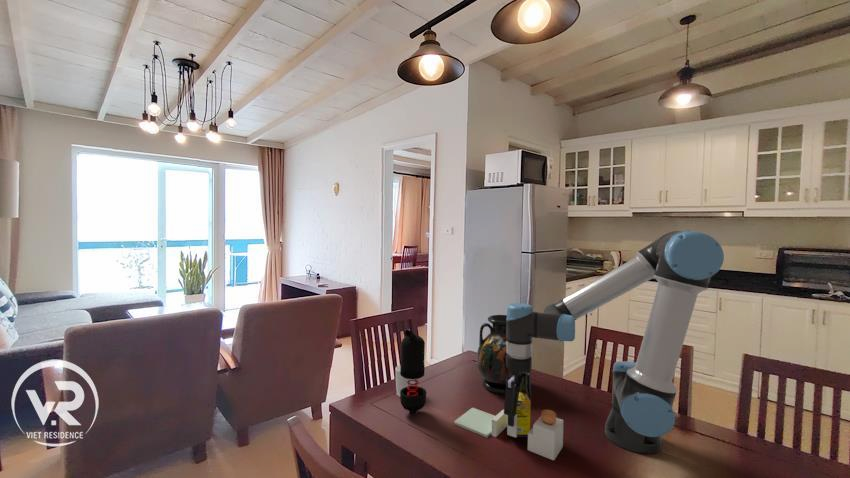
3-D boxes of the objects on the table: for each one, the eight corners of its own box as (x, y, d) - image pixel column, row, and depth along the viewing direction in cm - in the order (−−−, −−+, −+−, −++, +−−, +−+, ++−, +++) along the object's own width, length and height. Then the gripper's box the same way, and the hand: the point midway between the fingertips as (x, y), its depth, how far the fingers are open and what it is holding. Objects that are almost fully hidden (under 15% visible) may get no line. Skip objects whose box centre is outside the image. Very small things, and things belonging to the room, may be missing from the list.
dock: (562, 446, 104) (563, 420, 104) (553, 460, 98) (554, 432, 98) (502, 424, 116) (503, 400, 115) (491, 435, 109) (492, 409, 109)
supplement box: (530, 437, 105) (531, 400, 105) (510, 437, 105) (510, 400, 105) (525, 426, 111) (525, 391, 111) (506, 426, 111) (506, 391, 111)
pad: (504, 421, 118) (504, 419, 118) (486, 437, 108) (486, 435, 108) (472, 409, 125) (472, 407, 125) (453, 424, 115) (453, 421, 115)
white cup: (419, 392, 137) (419, 367, 137) (407, 400, 131) (408, 374, 130) (403, 387, 141) (403, 362, 141) (390, 395, 135) (391, 369, 135)
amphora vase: (473, 395, 136) (474, 322, 135) (477, 373, 157) (478, 310, 156) (531, 402, 131) (533, 327, 130) (528, 378, 152) (529, 313, 151)
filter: (419, 424, 115) (420, 332, 114) (393, 418, 118) (395, 329, 118) (433, 405, 128) (434, 322, 127) (409, 400, 131) (411, 319, 130)
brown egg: (557, 434, 103) (558, 412, 103) (553, 441, 100) (553, 418, 100) (543, 429, 105) (544, 408, 105) (538, 435, 102) (539, 413, 102)
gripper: (520, 344, 118) (519, 411, 119) (491, 362, 102) (491, 440, 102) (543, 348, 114) (542, 419, 114) (516, 368, 97) (515, 450, 98)
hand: (518, 429), depth 108 cm, fingers closed on supplement box, 8 cm apart
